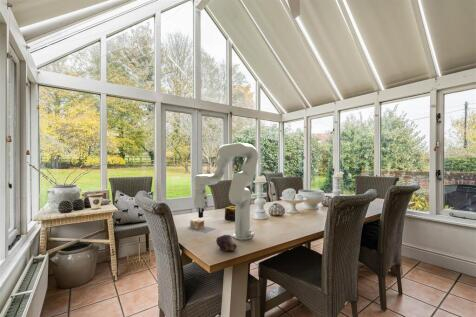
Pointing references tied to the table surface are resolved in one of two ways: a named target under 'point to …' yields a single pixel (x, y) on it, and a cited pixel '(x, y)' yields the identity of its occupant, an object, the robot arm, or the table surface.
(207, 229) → the mat
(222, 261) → the table surface
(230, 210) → the candle
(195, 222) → the maple block
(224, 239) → the rock
